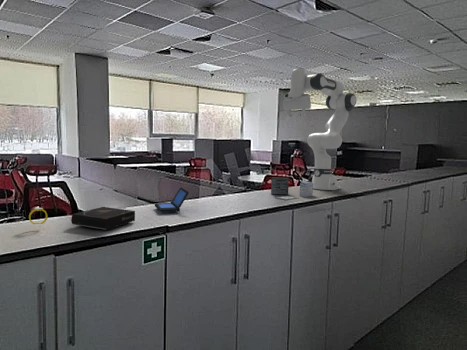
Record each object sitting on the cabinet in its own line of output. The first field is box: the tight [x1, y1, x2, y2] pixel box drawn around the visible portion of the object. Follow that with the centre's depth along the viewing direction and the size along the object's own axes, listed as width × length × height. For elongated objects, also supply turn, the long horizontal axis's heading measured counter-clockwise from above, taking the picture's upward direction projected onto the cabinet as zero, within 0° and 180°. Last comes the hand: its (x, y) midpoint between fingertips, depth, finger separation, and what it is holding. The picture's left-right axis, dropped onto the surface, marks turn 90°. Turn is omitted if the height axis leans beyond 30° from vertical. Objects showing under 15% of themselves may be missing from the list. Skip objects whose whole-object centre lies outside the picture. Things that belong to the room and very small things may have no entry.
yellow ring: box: [28, 207, 48, 225], centre depth 134 cm, size 6×3×6 cm, turn 127°
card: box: [274, 195, 299, 201], centre depth 209 cm, size 12×8×1 cm, turn 129°
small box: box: [270, 176, 290, 196], centre depth 223 cm, size 11×6×10 cm, turn 84°
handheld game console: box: [154, 187, 190, 213], centre depth 170 cm, size 16×13×9 cm
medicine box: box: [299, 181, 314, 198], centre depth 218 cm, size 8×4×9 cm, turn 134°
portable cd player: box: [70, 206, 136, 231], centre depth 141 cm, size 16×17×4 cm
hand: (295, 117), depth 226 cm, fingers open, 8 cm apart
